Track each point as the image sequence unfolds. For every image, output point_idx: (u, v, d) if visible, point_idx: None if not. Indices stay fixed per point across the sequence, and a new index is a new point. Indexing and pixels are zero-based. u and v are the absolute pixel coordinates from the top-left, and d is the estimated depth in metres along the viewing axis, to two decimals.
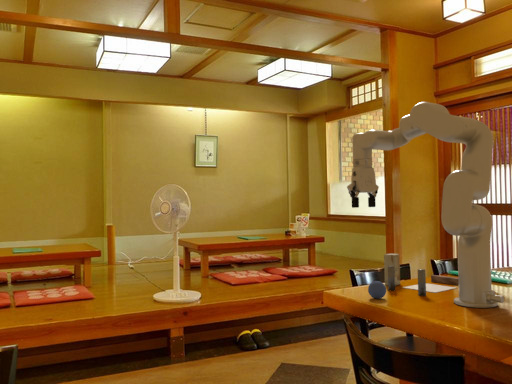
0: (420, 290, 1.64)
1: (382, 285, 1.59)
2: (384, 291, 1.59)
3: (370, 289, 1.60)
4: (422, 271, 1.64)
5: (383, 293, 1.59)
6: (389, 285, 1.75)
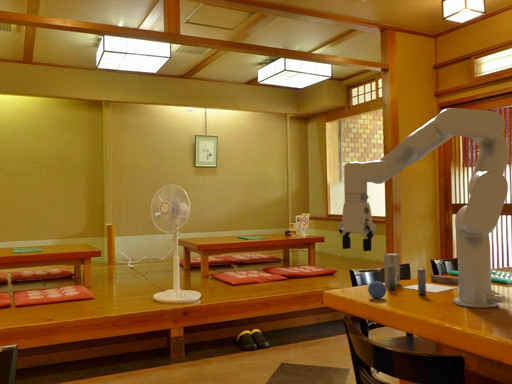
0: (420, 290, 1.64)
1: (382, 285, 1.59)
2: (384, 291, 1.59)
3: (370, 289, 1.60)
4: (422, 271, 1.64)
5: (383, 293, 1.59)
6: (389, 285, 1.75)
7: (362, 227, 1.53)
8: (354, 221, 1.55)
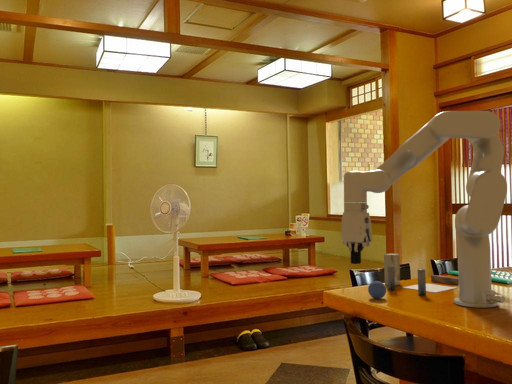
0: (420, 290, 1.64)
1: (382, 285, 1.59)
2: (384, 291, 1.59)
3: (370, 289, 1.60)
4: (422, 271, 1.64)
5: (383, 293, 1.59)
6: (389, 285, 1.75)
7: (362, 237, 1.51)
8: (354, 231, 1.53)
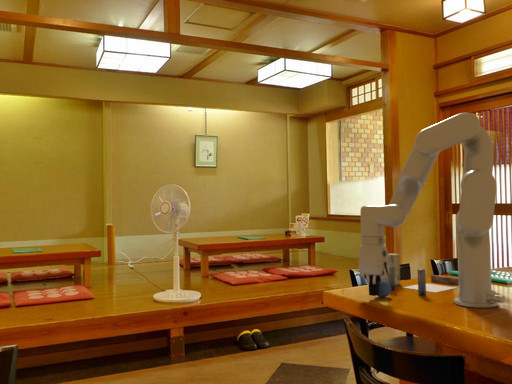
0: (420, 290, 1.64)
1: (389, 284, 1.62)
2: (389, 290, 1.61)
3: None
4: (422, 271, 1.64)
5: (387, 291, 1.60)
6: None
7: (381, 270, 1.55)
8: (372, 264, 1.58)
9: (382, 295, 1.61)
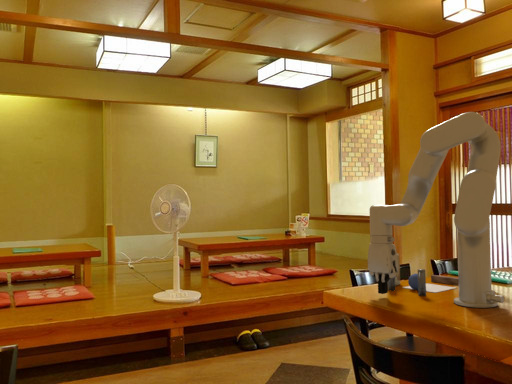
0: (420, 290, 1.64)
1: None
2: None
3: (414, 274, 1.76)
4: (422, 271, 1.64)
5: None
6: (389, 285, 1.75)
7: (389, 269, 1.58)
8: (381, 262, 1.60)
9: (416, 285, 1.73)
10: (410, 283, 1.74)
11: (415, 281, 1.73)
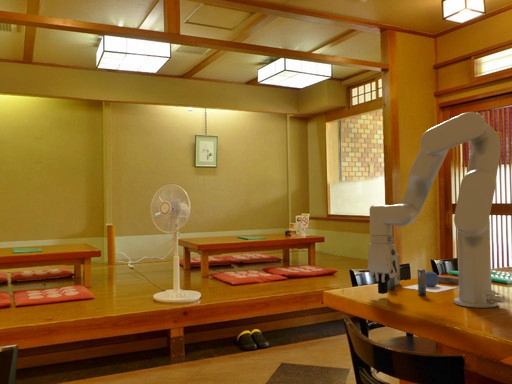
0: (420, 290, 1.64)
1: (433, 282, 1.78)
2: (437, 279, 1.79)
3: None
4: (422, 271, 1.64)
5: (438, 279, 1.79)
6: (389, 285, 1.75)
7: (389, 269, 1.58)
8: (381, 262, 1.60)
9: None
10: None
11: None
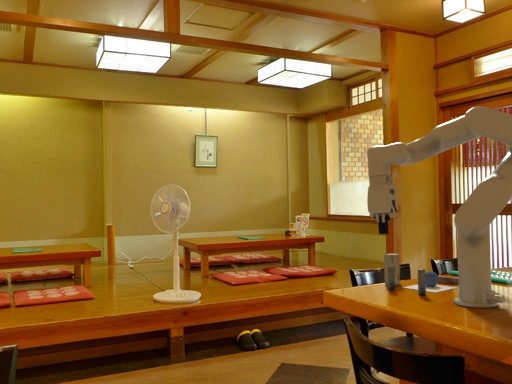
0: (420, 290, 1.64)
1: (433, 282, 1.78)
2: (437, 279, 1.79)
3: None
4: (422, 271, 1.64)
5: (438, 279, 1.79)
6: (389, 285, 1.75)
7: (389, 208, 1.58)
8: (380, 202, 1.61)
9: None
10: None
11: None
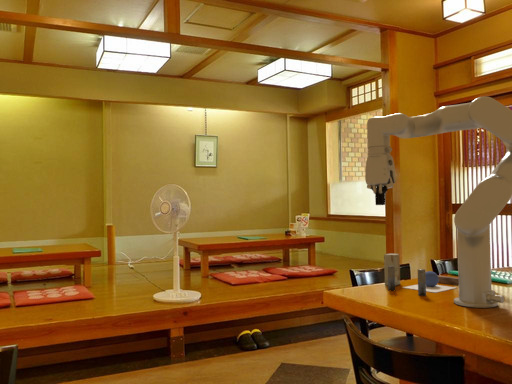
0: (420, 290, 1.64)
1: (433, 282, 1.78)
2: (437, 279, 1.79)
3: None
4: (422, 271, 1.64)
5: (438, 279, 1.79)
6: (389, 285, 1.75)
7: (387, 178, 1.59)
8: (378, 173, 1.61)
9: None
10: None
11: None
